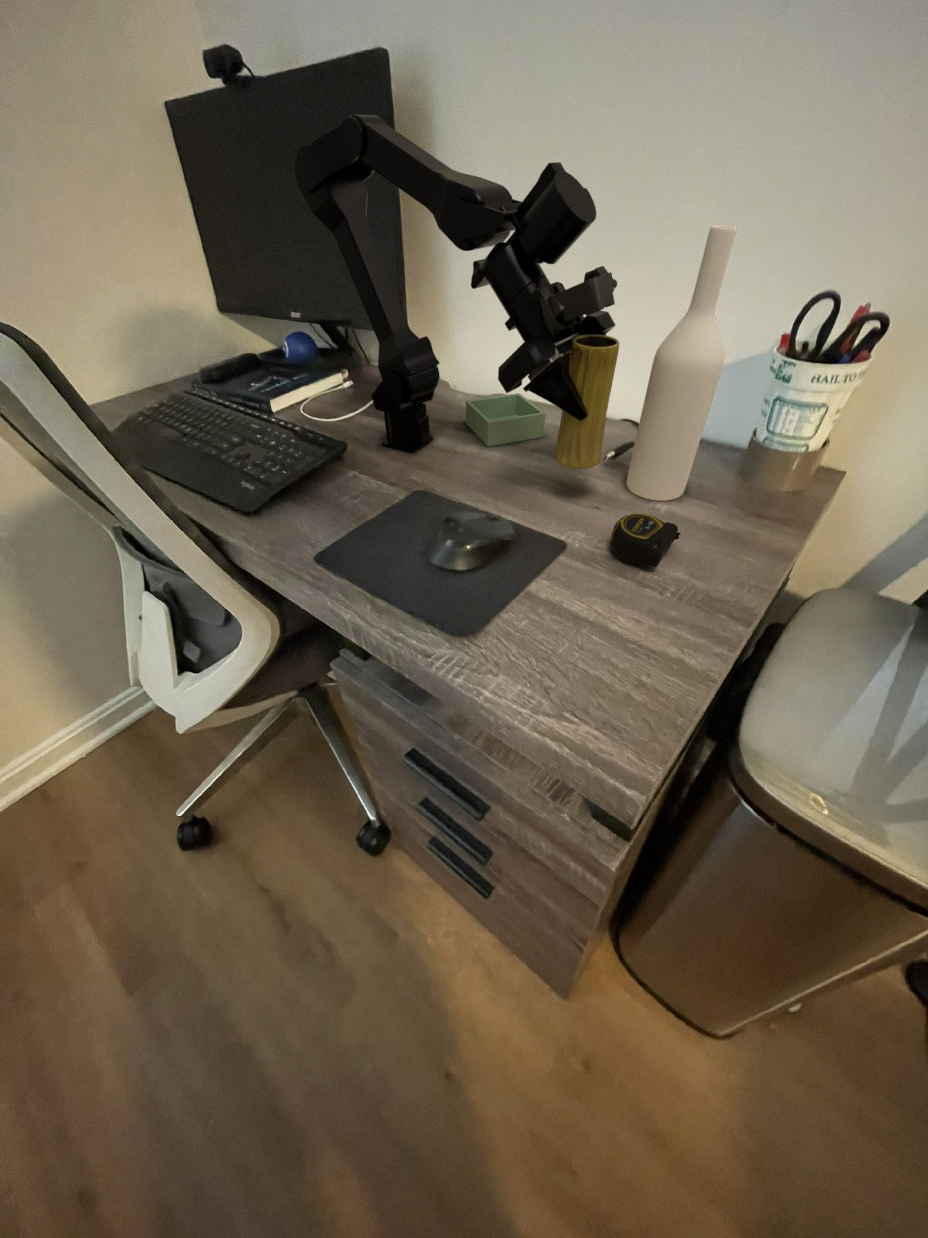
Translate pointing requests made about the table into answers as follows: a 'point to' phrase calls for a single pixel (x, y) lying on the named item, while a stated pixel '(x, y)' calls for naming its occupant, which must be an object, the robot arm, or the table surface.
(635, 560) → the tape measure
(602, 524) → the table surface
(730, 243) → the bottle
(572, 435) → the vase
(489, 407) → the green open-top tray
